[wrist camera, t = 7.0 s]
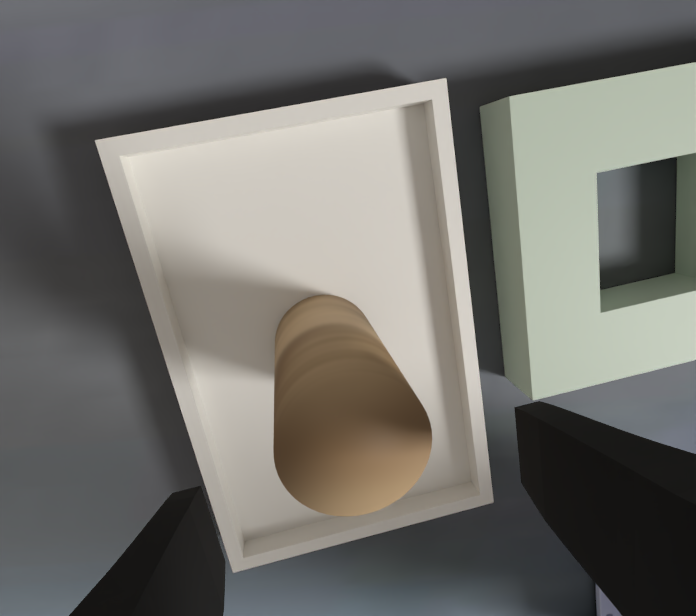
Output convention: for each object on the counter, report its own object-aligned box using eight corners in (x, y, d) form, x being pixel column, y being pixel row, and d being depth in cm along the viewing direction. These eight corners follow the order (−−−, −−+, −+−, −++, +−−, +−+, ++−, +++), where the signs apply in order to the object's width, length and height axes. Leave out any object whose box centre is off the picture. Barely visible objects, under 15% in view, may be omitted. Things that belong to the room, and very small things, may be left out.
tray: (475, 476, 24) (493, 502, 22) (236, 539, 22) (233, 572, 20) (428, 88, 18) (446, 78, 16) (114, 144, 17) (94, 140, 15)
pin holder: (732, 321, 23) (784, 337, 21) (505, 376, 22) (532, 400, 20) (746, 57, 20) (810, 41, 18) (479, 106, 19) (509, 96, 16)
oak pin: (378, 375, 20) (440, 495, 12) (286, 396, 20) (292, 532, 12) (363, 285, 19) (421, 357, 11) (265, 306, 19) (256, 394, 11)
